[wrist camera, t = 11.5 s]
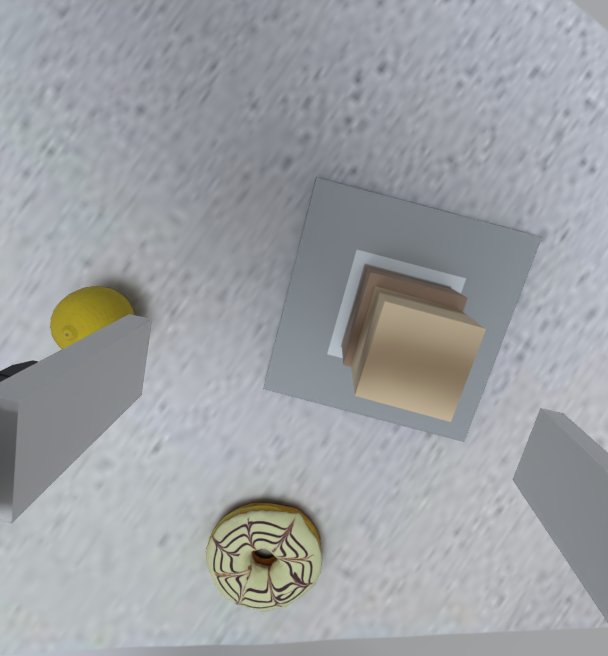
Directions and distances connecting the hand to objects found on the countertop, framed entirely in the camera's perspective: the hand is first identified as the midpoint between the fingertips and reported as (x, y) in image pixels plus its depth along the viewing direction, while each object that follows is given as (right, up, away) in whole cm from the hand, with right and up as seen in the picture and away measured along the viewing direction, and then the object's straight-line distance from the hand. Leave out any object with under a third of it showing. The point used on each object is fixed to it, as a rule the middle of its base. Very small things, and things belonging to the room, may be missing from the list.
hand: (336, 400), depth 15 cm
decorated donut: (-5, -19, +30) cm, 35 cm away
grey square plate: (+6, +4, +23) cm, 25 cm away
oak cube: (+6, +2, +18) cm, 19 cm away
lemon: (-17, +4, +25) cm, 31 cm away
